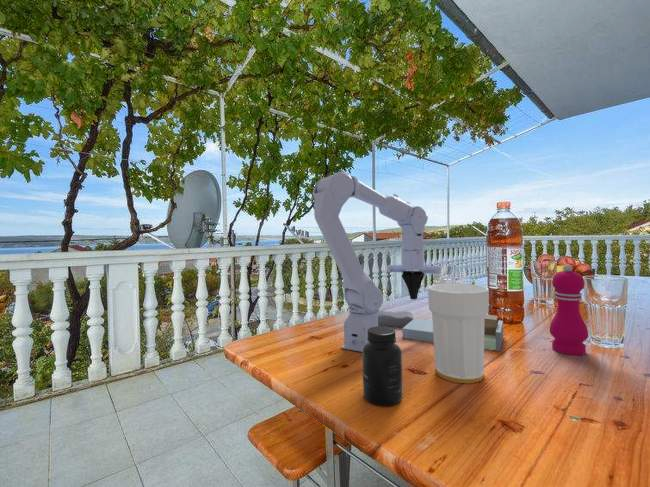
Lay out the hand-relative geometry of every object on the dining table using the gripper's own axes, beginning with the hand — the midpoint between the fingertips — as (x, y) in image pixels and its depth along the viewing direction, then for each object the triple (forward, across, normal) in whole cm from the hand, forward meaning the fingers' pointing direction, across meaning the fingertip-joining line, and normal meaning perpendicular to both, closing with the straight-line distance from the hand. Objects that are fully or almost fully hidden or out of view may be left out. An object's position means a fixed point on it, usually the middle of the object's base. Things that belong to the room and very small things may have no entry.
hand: (413, 298), depth 91 cm
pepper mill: (+10, -35, -3) cm, 37 cm away
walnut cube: (+7, -18, -1) cm, 20 cm away
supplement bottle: (+10, -5, +37) cm, 39 cm away
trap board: (+10, -9, -1) cm, 13 cm away
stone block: (+10, +9, -9) cm, 16 cm away
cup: (+10, -15, +21) cm, 28 cm away
